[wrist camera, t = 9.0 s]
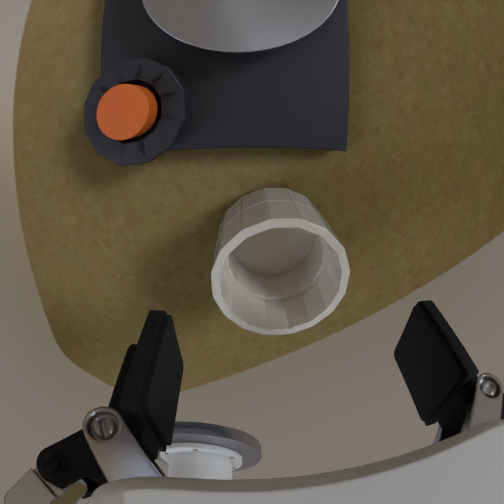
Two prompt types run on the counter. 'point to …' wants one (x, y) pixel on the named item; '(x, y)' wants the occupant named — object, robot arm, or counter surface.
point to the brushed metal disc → (239, 22)
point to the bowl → (277, 263)
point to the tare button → (126, 111)
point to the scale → (223, 89)
